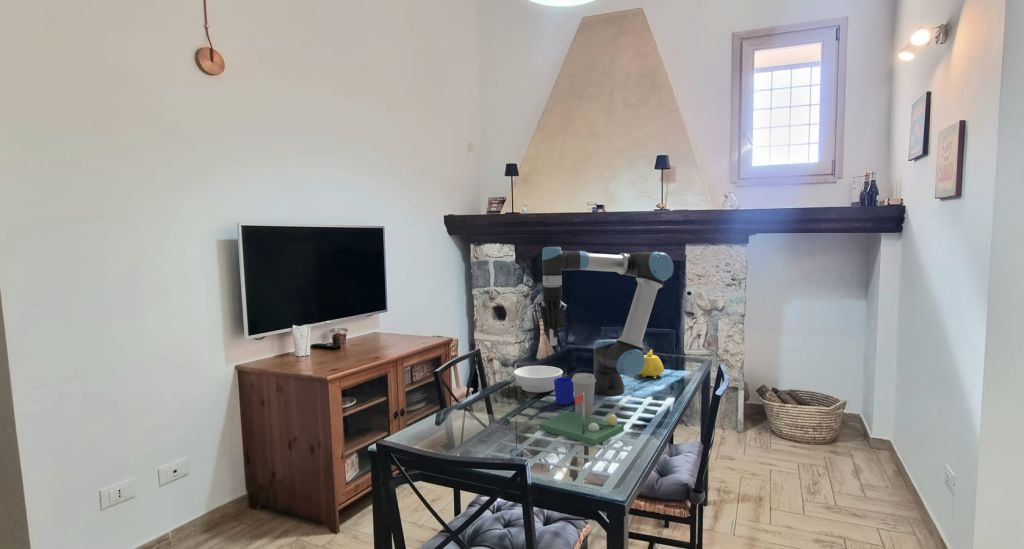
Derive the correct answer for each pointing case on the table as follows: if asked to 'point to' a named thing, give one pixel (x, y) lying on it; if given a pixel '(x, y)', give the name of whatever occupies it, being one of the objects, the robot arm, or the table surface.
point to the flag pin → (579, 400)
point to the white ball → (593, 427)
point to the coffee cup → (584, 391)
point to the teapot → (652, 365)
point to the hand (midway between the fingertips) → (553, 345)
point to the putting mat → (580, 428)
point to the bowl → (537, 378)
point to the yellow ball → (611, 419)
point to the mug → (564, 391)
